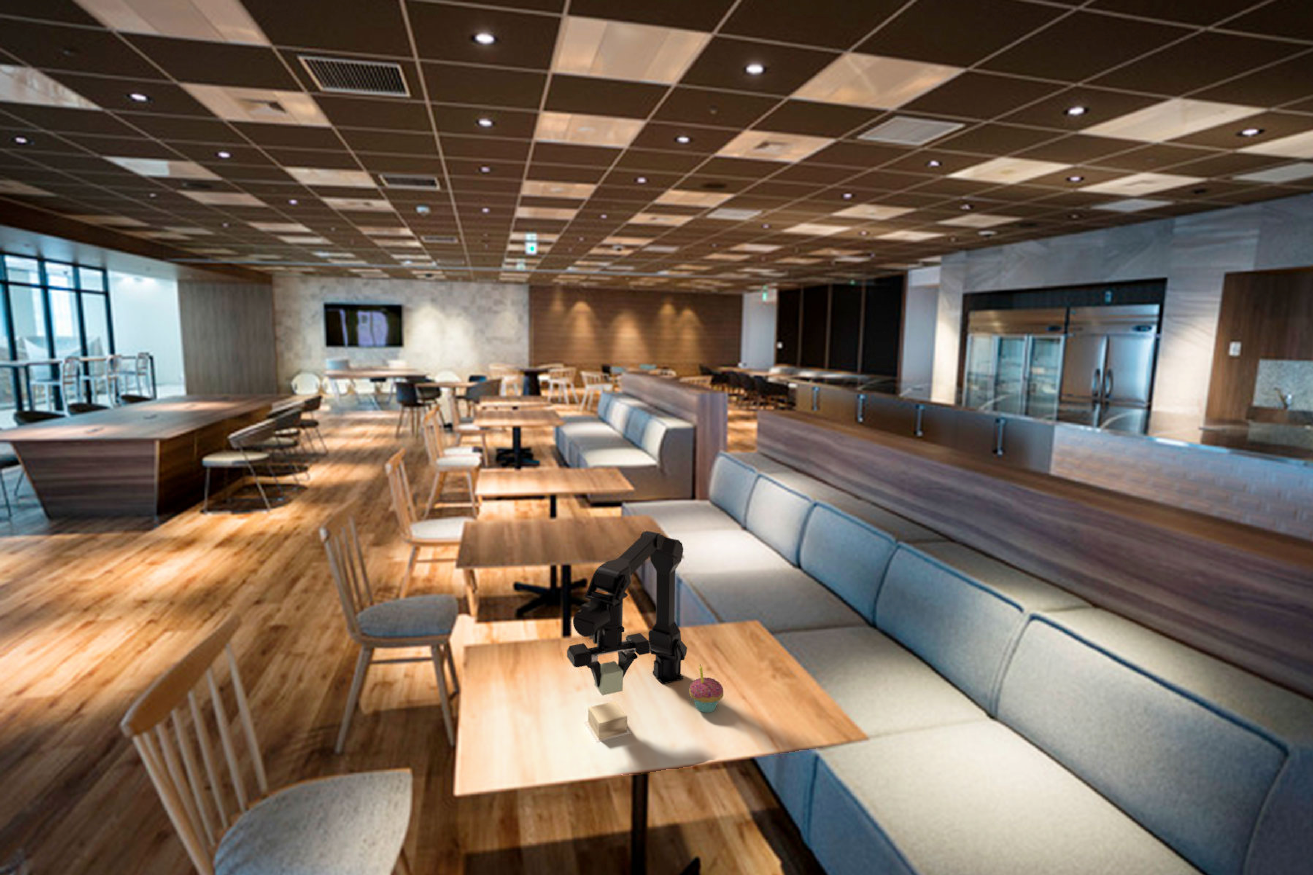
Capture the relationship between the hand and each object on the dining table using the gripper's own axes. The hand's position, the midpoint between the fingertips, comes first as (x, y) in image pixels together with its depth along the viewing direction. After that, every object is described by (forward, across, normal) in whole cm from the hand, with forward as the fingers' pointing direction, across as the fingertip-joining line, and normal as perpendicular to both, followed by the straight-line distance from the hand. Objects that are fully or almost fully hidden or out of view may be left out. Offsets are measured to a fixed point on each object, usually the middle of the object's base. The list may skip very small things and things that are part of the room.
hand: (608, 683), depth 154 cm
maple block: (+11, 0, 0) cm, 11 cm away
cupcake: (+11, -26, +1) cm, 28 cm away
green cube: (+1, 0, 0) cm, 1 cm away
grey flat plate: (+11, -2, 0) cm, 12 cm away
